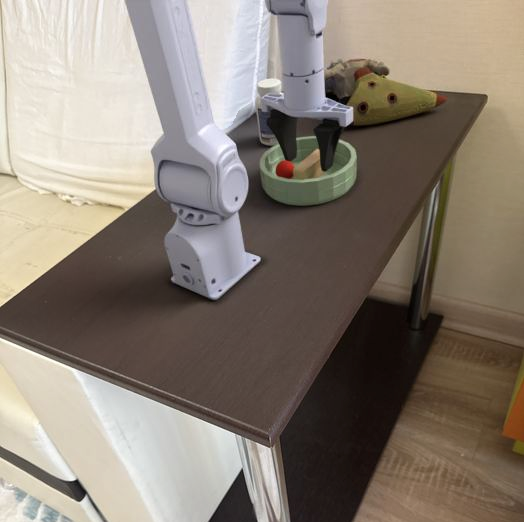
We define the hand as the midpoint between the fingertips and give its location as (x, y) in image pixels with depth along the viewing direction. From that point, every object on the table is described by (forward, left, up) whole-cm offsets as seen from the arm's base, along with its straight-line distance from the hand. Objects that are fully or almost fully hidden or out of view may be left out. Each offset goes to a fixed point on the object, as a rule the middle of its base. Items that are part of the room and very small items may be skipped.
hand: (308, 163), depth 80 cm
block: (0, 0, -2) cm, 2 cm away
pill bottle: (+10, +14, -3) cm, 17 cm away
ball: (-2, +3, -1) cm, 4 cm away
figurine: (+24, +7, +2) cm, 25 cm away
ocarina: (+24, -2, -3) cm, 24 cm away
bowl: (0, 0, -3) cm, 3 cm away
